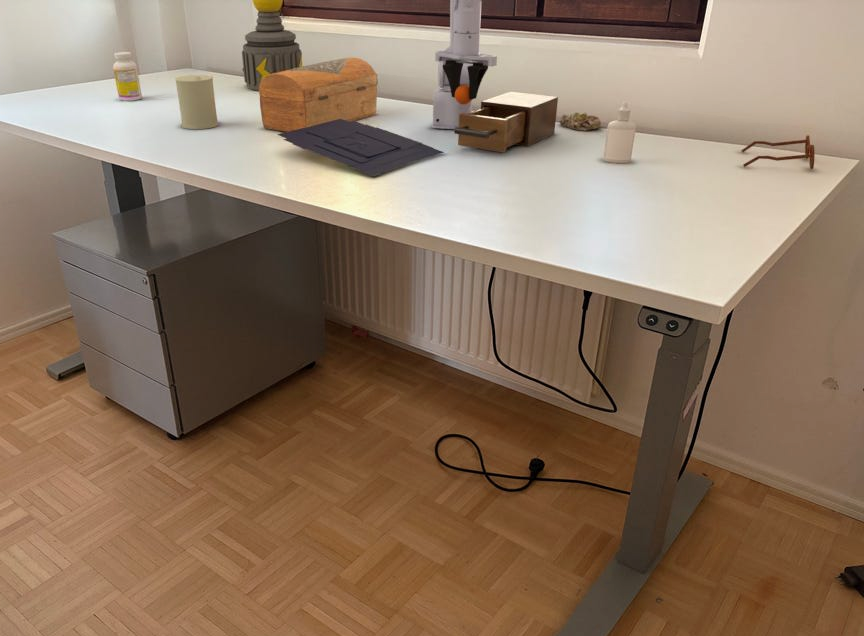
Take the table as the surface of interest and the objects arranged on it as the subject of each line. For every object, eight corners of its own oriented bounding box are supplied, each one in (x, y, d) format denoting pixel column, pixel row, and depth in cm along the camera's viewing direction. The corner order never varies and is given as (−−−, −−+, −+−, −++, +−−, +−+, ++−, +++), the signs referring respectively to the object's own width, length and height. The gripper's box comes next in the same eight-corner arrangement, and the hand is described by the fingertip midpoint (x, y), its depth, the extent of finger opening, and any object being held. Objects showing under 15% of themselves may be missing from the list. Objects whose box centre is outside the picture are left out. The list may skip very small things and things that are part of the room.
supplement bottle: (125, 96, 225) (117, 51, 218) (145, 97, 224) (138, 51, 217) (115, 101, 219) (106, 54, 213) (136, 101, 218) (128, 54, 212)
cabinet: (527, 146, 169) (531, 107, 165) (478, 139, 175) (481, 101, 171) (554, 134, 179) (558, 96, 175) (507, 127, 186) (510, 91, 181)
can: (192, 131, 185) (186, 80, 179) (175, 125, 191) (168, 75, 185) (225, 125, 190) (219, 75, 184) (207, 119, 196) (201, 71, 190)
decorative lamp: (236, 91, 231) (225, -17, 216) (255, 81, 247) (246, -20, 232) (294, 92, 228) (287, -17, 213) (310, 82, 244) (304, -20, 229)
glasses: (813, 173, 149) (820, 148, 146) (742, 167, 153) (748, 142, 150) (806, 157, 159) (812, 133, 157) (740, 152, 163) (745, 128, 161)
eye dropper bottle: (623, 165, 155) (633, 105, 149) (599, 160, 158) (607, 102, 152) (633, 161, 157) (643, 102, 151) (609, 156, 161) (617, 99, 155)
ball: (471, 106, 166) (472, 86, 164) (452, 105, 167) (453, 86, 165) (474, 102, 169) (475, 83, 167) (456, 102, 170) (456, 82, 168)
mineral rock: (608, 116, 185) (596, 112, 178) (605, 134, 186) (592, 131, 180) (568, 112, 191) (555, 109, 184) (565, 130, 192) (552, 127, 186)
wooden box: (331, 107, 208) (329, 54, 201) (379, 114, 200) (379, 59, 193) (256, 128, 187) (251, 69, 180) (306, 136, 179) (303, 75, 172)
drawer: (492, 157, 158) (494, 124, 154) (446, 149, 164) (447, 118, 160) (530, 139, 171) (533, 109, 167) (486, 133, 176) (488, 103, 173)
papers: (345, 128, 180) (346, 113, 178) (443, 164, 165) (446, 148, 163) (270, 148, 164) (270, 132, 162) (371, 189, 149) (373, 172, 147)
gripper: (428, 31, 162) (427, 97, 168) (487, 36, 154) (483, 104, 161) (445, 28, 166) (443, 92, 173) (503, 32, 159) (498, 98, 166)
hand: (463, 97), depth 167 cm, fingers closed on ball, 4 cm apart
